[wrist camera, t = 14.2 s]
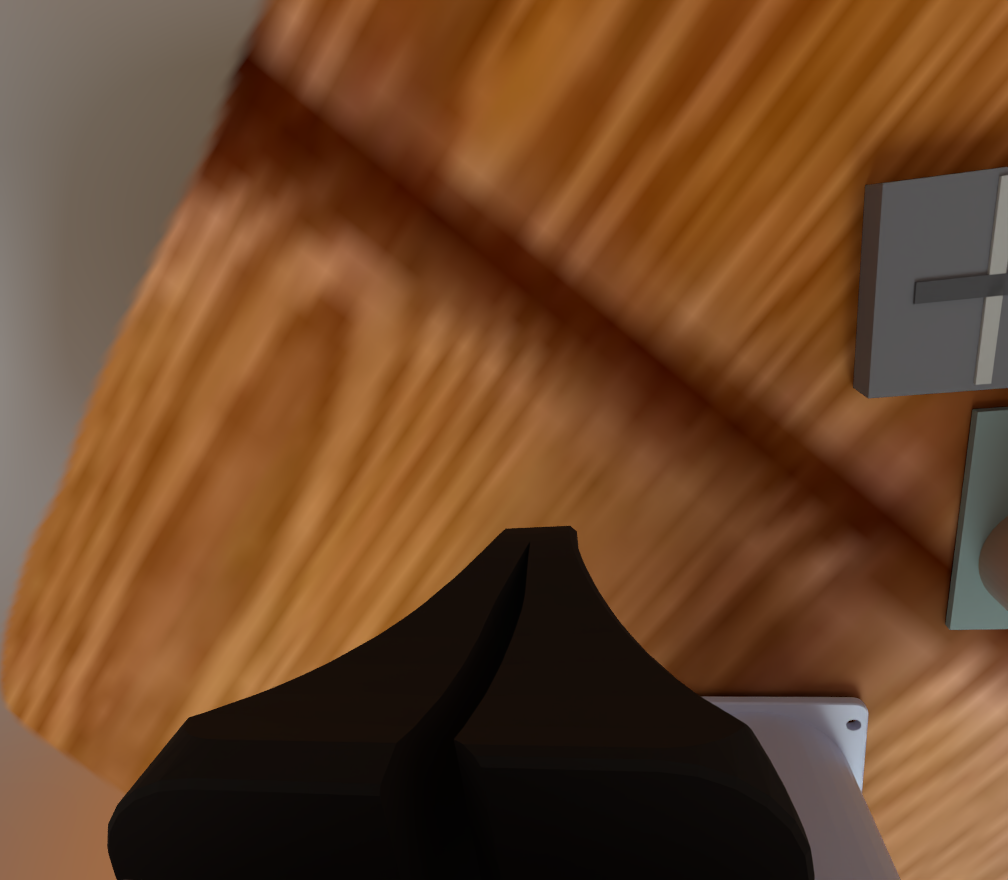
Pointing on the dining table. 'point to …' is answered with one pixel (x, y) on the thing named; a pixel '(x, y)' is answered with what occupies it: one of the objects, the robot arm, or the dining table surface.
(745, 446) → the dining table surface
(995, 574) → the peach domed cylinder
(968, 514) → the slate mat
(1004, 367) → the board
